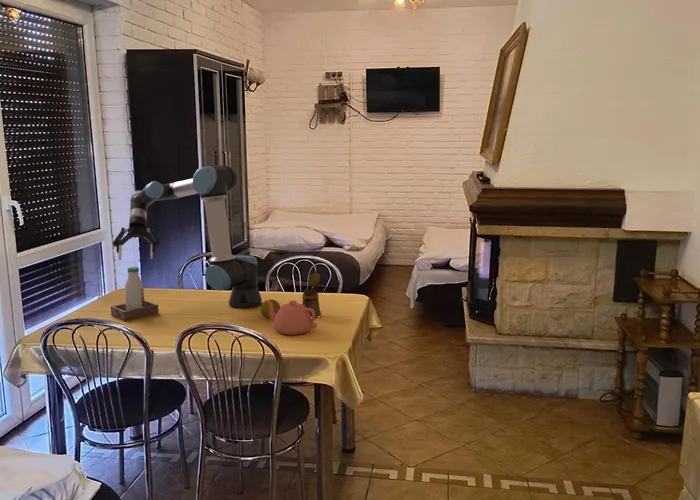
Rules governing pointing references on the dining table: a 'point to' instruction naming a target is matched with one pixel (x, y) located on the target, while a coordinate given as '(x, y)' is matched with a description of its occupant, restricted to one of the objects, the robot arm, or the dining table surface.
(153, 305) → the tray
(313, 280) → the dark brown tall piece
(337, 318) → the dining table surface
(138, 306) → the milk bottle
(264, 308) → the lemon
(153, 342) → the dining table surface
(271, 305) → the teapot
